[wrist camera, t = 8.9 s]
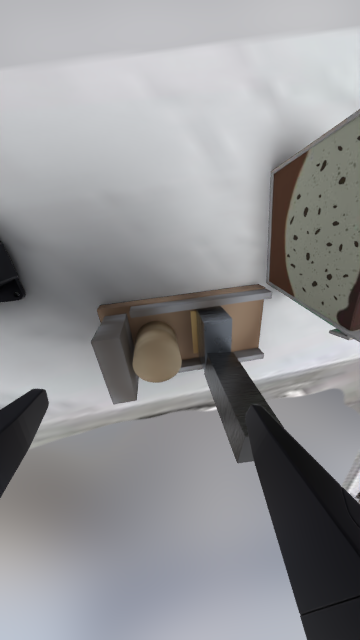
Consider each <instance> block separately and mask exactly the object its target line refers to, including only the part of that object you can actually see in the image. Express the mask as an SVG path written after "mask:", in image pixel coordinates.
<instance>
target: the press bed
mask: <svg viewBox="0 0 360 640" xmlns="http://www.w3.org/2000/svg"><path fill="white" fill-rule="evenodd" d="M271 297H272V292H271V291H269V290H267V289H265V287H263V286H261V285H259V284H257V285H249V286H242V287H234V288H227V289H219V290H212V291H204V292H197V293H189V294H182V295H174V296H167V297H159V298H152V299H144V300H137V301H129V302H122V303H114V304H107V305H100V306H99V308H98V309H97V312H98V316H99V319H100V322H101V324H100V326H99V328H98V330H97V332H96V333H95V335H94V337H93V339H92V341H91V344H92V347H93V349H94V352H95V355H96V358H97V360H98V363H99V366H100V369H101V371H102V374H103V377H104V380H105V383H106V385H107V388H108V391H109V394H110V396H111V399H112V402H113V404H118V403H124V402H130V401H135V400H137V391H138V379H139V376H138V375H137V374H136V373H135V371H134V369H133V357H134V350H135V342H136V335H137V332H138V331H139V329H140V328H141V327H142V326H143V325H145V324H146V323H149V322H152V321H161V322H164V323H167V324H168V325H170V326H171V327H172V328H173V330H174V331H175V334H176V338H177V343H178V347H179V351H180V355H181V360H182V363H181V368H180V370H179V371H178V373H180V372H186V371H191V370H197V369H203V366H202V364H201V361H200V358H199V353H198V335H197V318H196V309H199V308H206V307H213V306H221V307H222V308H223V309H224V310H225V311H226V312H227V313H228V314H229V315H230V317H231V318H232V344H231V352H233V353H234V354H235V356H236V357H237V359H238V360H239V362H245V361H251V360H256V359H262V358H263V357H264V353H263V352H262V351H261V350H260V349H259V348H258V346H259V337H260V328H261V320H262V311H263V302H264V299H269V298H271Z"/></svg>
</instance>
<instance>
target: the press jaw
mask: <svg viewBox="0 0 360 640" xmlns="http://www.w3.org/2000/svg"><path fill="white" fill-rule="evenodd" d="M196 318H197V335H198V353H199V358H200V361H201V364H202V366H203V369H204V372H205V373H204V375H205V377H206V380H207V383H208V386H209V388H210V391H211V394H212V396H213V399H214V402H215V405H216V407H217V410H218V413H219V415H220V418H221V421H222V423H223V426H224V429H225V431H226V434H227V437H228V440H229V442H230V445H231V448H232V450H233V453H234V456H235V459H236V461H237V463H243V462H250V461H254V459H253V455H252V451H251V446H250V441H249V436H248V431H247V426H246V421H245V416H246V413H247V411H248V409H249V407H250V405H252V404H258V405H261V406H262V407H263V408H264V409H265V410H266V411H267V412H268V413H269V414H270V415H271V416H272V417H273V418H274V419H275V420H276V421H277V422H278V423H279V424H280V425H281V426H282V424H281V423H280V421H279V420H278V418H277V417H276V415H275V414H274V413H273V411H272V409H271V408H270V407H269V405H268V404H267V402H266V401H265V399H264V398H263V396H262V395H261V393H260V392H259V390H258V389H257V387H256V386H255V384H254V383H253V381H252V380H251V378H250V377H249V375H248V374H247V372H246V371H245V369H244V368H243V366H242V365H241V363H240V362H239V360H238V359H237V357H236V356H235V354H234V353H233V352H231V344H232V318H231V317H230V315H229V314H228V313H227V312H226V311H225V310H224V309H223V308H222V307H221V306H213V307H206V308H199V309H196ZM282 427H283V426H282ZM283 428H284V427H283Z"/></svg>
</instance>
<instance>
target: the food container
mask: <svg viewBox="0 0 360 640" xmlns="http://www.w3.org/2000/svg"><path fill="white" fill-rule="evenodd" d="M266 283H267V284H269V285H270V286H272V287H273V288H275V289H277V290H278V291H280V292H281V293H283V294H284V295H286V296H287V297H289V298H290V299H292V300H294V301H295V302H297V303H298V304H300V305H301V306H303V307H304V308H306V309H307V310H309V311H311V312H312V313H314V314H315V315H317V316H318V317H320V318H321V319H323V320H325V321H326V322H328V323H329V324H331V325H332V326H334V327H335V328H337V329H334V330H330V331H329V333H330V334H333V335H336V336H339V337H341V338H344V339H347V340H352V339H355V340H357V341H359V342H360V109H359V110H358V111H356V112H355V113H354V114H352V115H351V116H349V117H348V118H346V119H345V120H344V121H342V122H341V123H339V124H338V125H337V126H335V127H334V128H332V129H331V130H329V131H328V132H327V133H325V134H324V135H322V136H321V137H319V138H318V139H317V140H315V141H314V142H312V143H311V144H310V145H308V146H307V147H305V148H304V149H302V150H301V151H300V152H298V153H297V154H295V155H294V156H292V157H291V158H290V159H288V160H287V161H285V162H284V163H283V164H281V165H280V166H278V167H277V168H275V169H274V170H273V171H271V178H270V204H269V230H268V256H267V282H266Z"/></svg>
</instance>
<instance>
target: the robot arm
mask: <svg viewBox="0 0 360 640" xmlns="http://www.w3.org/2000/svg"><path fill="white" fill-rule="evenodd" d="M16 292H18V293H19V296H18V295H17V294H16ZM25 295H26V294H25V291H24V289H23V287H22V285H21V283H20V281H19V279H18V277H17V272H16V270H15V268H14V266H13V264H12V262H11V260H10V258H9V256H8V254H7V252H6V249H5V247H4V245H3V244H2V243H1V241H0V302H8V301H16V300H21V299H23V298H24V297H25ZM48 405H49V401H48V397H47V393H46V390H44V389H32V390H30V391H29V392H27V393H26V394H24V395H23V396H21V397H20V398H18V399H16V400H15V401H13V402H12V403H10V404H9V405H7V406H6V407H4V408H2V409H1V410H0V498H1V496H2V494H3V492H4V491H5V489H6V487H7V485H8V484H9V482H10V480H11V479H12V477H13V475H14V473H15V472H16V470H17V468H18V467H19V465H20V463H21V461H22V459H23V458H24V456H25V454H26V453H27V451H28V449H29V447H30V445H31V443H32V441H33V439H34V437H35V434H36V432H37V430H38V428H39V426H40V424H41V421H42V419H43V417H44V415H45V413H46V411H47V408H48ZM245 421H246V426H247V431H248V436H249V441H250V446H251V451H252V455H253V459H254V462H255V466H256V469H257V472H258V476H259V479H260V483H261V486H262V489H263V492H264V496H265V499H266V502H267V506H268V509H269V513H270V516H271V519H272V523H273V526H274V529H275V533H276V536H277V540H278V543H279V546H280V550H281V553H282V556H283V559H284V563H285V566H286V570H287V573H288V576H289V580H290V583H291V586H292V590H293V593H294V597H295V600H296V603H297V606H298V610H299V613H300V614H301V616H300V617H301V620H302V624H303V627H304V631H305V634H306V637H307V640H360V504H359V503H358V502H357V501H356V500H355V499H354V498H353V497H352V496H351V495H350V494H349V493H348V492H347V491H346V490H345V489H344V488H343V487H341V486H340V484H339V483H338V482H337V481H336V480H335V479H334V478H333V477H332V476H331V475H330V474H329V473H328V472H327V471H326V470H325V469H324V468H323V467H322V466H321V465H320V464H319V463H318V462H317V461H316V460H315V459H314V458H313V457H312V456H311V455H310V454H309V453H308V452H307V451H306V450H305V449H304V448H303V447H302V446H301V445H300V444H299V443H298V442H297V441H296V440H295V439H294V438H293V437H292V436H291V435H290V434H289V433H288V432H287V431H286V430H285V429H284V428H283V427H282V426H281V425H280V424H279V423H278V422H277V421H276V420H275V419H274V418H273V417H272V416H271V415H270V414H269V413H268V412H267V411H266V410H265V409H264V408H263V407H262V406H261V405H258V404H252V405H250V407H249V409H248V411H247V413H246V416H245Z"/></svg>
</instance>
